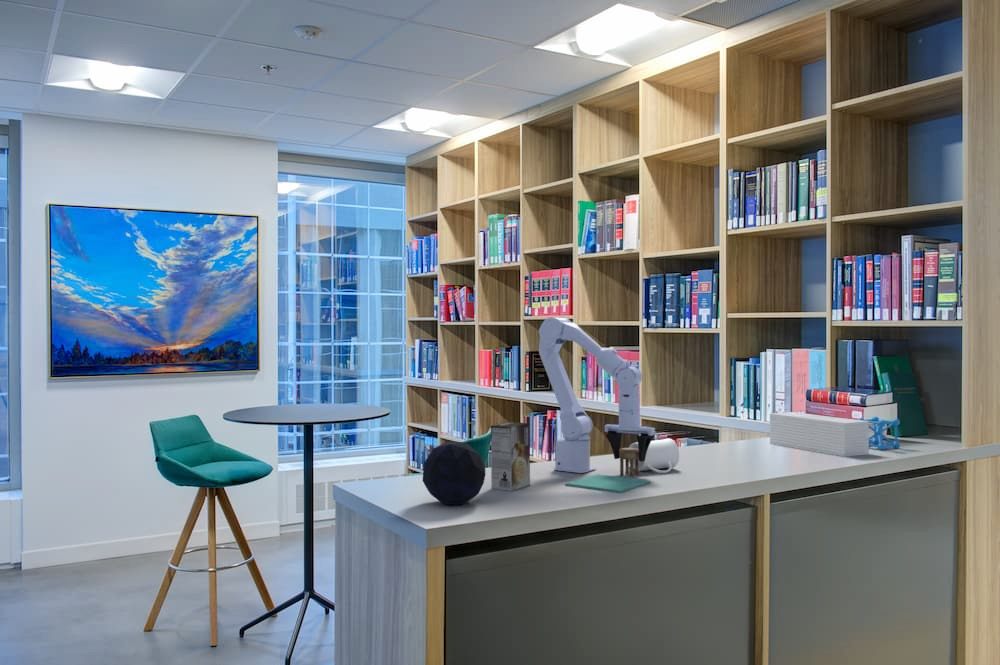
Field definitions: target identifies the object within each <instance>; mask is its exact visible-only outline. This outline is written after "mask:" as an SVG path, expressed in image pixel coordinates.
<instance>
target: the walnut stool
mask: <svg viewBox="0 0 1000 665" xmlns="http://www.w3.org/2000/svg"><path fill="white" fill-rule="evenodd" d="M634 459H635V467H633V460H634ZM638 459H639V449H637V448H629V447H623V448H622V447H620V449H619V470H620V471H619V475H620V476H624V473H625V474H626V475H627V474H629V477H634V475H636V476H638V475H639V474H640V471H638ZM624 460H625V461H624ZM629 460H630V463H629ZM624 462H625V468H624ZM624 469H625V470H624ZM624 471H625V472H624Z"/></svg>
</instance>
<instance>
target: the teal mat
mask: <svg viewBox="0 0 1000 665" xmlns="http://www.w3.org/2000/svg"><path fill="white" fill-rule="evenodd" d="M648 484H651V480H647V479H638V478H631V477H623V476H614V475H607V474H599V473H597V474H594V475H590V476H587V477H583V478H580V479H576V480H573V481H570V482H569V481H568V482H565V483H564V485H565V486H569V487H575V488H576V487H577V488H583V489H590V490H598V491H603V492H611V493H619V494H621V493H624V492H627V491H631V490H633V489H636V488H639V487H643V486H646V485H648Z"/></svg>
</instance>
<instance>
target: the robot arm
mask: <svg viewBox="0 0 1000 665" xmlns="http://www.w3.org/2000/svg"><path fill="white" fill-rule="evenodd" d="M538 333H539V343H538V344H539V345H538V353H539V356H540V357H539V358H540V359H541V362H542V365H543V368H544V369H545V372H546V375H547V377H548V380H549V383H550V385H551V388H552V390H553V392H554V395H555V398H556V401H557V402H558V405H559V408H560V412H559V418H560V419H559V420H560V422H561V423H560V430H561V432H562V435H563V437H560V438H558V440H557V441H556V444H555V448H554V449H555V450H554V452H555V455H554V459H555V462H554V463H555V467H554V468H553V470H554V471H562V472H569V473H578V474H584V473H587V472H591V471H594V470H595V471H596V470H597V467H594V466H593V467H592V466H591V437H590V433H591V432H592V431H593V426H594V425H593V420H592V418H591V417H590V416H588V414H587V413H586V411H585V409H584V407H583V406H582V405H581V404H580V403H579V402H578V399H577V397H576V395H575V390H574V389H573V387H572V384H571V381H570V379H569V376H568V373H567V372H566V369H565V368H566V367H565V366H564V363H563V361H562V358H561V355H560V350H561V348H562V346H563V345H564V343H566V341H571V342H574V343H576V344H577V345H578V346H579V347H581V348H582V349H584V350H585V351H586V352H587V353H589V354H590V355H591V356H593V357H594V358H595V362H596V365H597V366H598V367H600V369H602V370H603V371H605V372H606V373H607V374H608V375H610V377H612V378H613V379H614V380H615V384H617V386H618V424H610V423H609V424H608V423H607V424H605V425H604V432H605V433H606V432H607V433H606V434H605V437H606V439H607V441H608V442H609V445H610V447H611V450H612V454H613V457H614V460H617V459H619V460H620V458H619V449H620V448H621V445H622V444H621V443H622V438H623V434H632V435H633V434H634V435H635V434H636V435H637V436H636V441H637V442H638V447H639V461H640V462H642V461H645V457H646V453H647V450H648V447H649V444H650V442H651V441H653V438H654V436H655V435H656V428H655V427H651V426H650V427H649V426H643V425H641V422H640V421H641V413H640V412H641V410H640V409H641V408H640V404H641V403H640V398H641V397H640V396H641V395H640V383H641V382H642V379H643V375H642V372H641V370H640V369H639V368H638V366H636V365H631V362H630V361H629V360H627V361H626V360H625V359H623V357H621V356H620V355H618V351H617V350H616V349H612V348H609V347H608V348H603V347H602V346H600V344H599V343H597V342H596V341H595V340H594V339H593V338H592V337H591V336H589V335H588V334H587V333H586V331H584V330H583V329H582V328H580V327H579V326H578V324H576V323H574V322H572V321H571V320H570V319H569V318H567V317H554V316H550V317H547V318H546V319H544V320H543V321H542V323H541V325H540V327H539V329H538Z"/></svg>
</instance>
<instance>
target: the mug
mask: <svg viewBox="0 0 1000 665" xmlns="http://www.w3.org/2000/svg"><path fill="white" fill-rule="evenodd" d="M628 448H637V449H639V447H638V441H637V442H636V441H635V442H633V443H631V444H630V445H629V447H628ZM679 461H680V449H679V447H678V445H677V442H676V441H675V440H673V439H672V438H669V437H668V438H665V439H658V440H657V439H656V440H651V442H650V444H649V447H648V450H647V453H646V457H645V461H642V462H640V461H639V459H638V471H639V472H643V471H644V472H645V471H653V472H655V473H659V474H667V473H669V472H671V471H672V469H675V467H676V466H677V465H678V463H679ZM629 464H630V460H629ZM633 467H635V459H634V460H633ZM660 469H662V470H660ZM663 469H667V470H663Z"/></svg>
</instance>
